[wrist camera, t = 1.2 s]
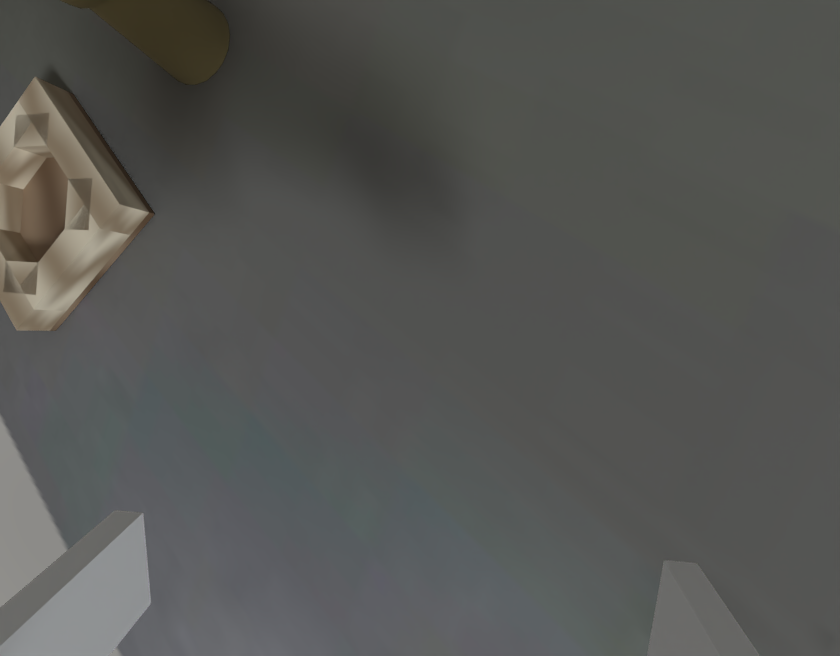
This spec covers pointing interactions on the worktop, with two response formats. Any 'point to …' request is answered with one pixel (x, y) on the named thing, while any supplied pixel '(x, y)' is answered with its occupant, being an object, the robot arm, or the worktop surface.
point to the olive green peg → (170, 33)
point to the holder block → (59, 207)
